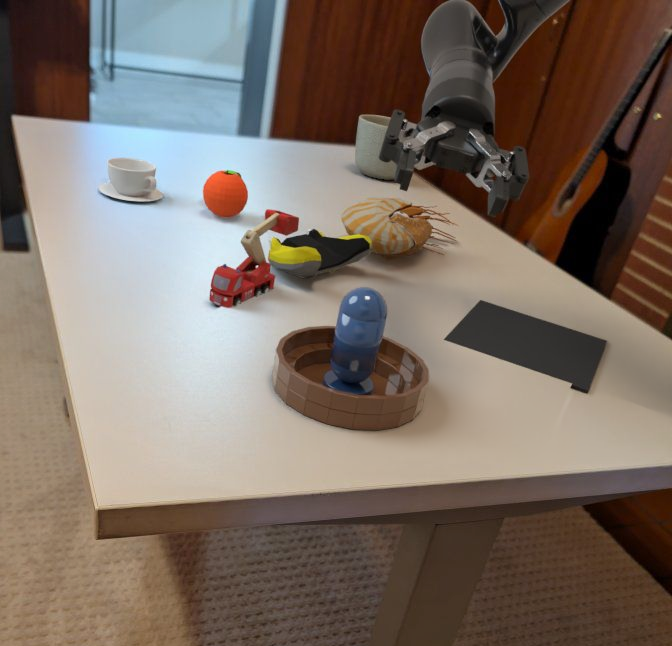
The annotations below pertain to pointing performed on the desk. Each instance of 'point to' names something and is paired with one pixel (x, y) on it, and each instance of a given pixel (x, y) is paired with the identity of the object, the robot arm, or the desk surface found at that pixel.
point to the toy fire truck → (250, 264)
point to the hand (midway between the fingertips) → (451, 195)
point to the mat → (530, 343)
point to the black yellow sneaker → (316, 253)
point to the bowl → (341, 407)
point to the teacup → (131, 180)
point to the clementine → (225, 193)
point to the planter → (373, 147)
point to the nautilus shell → (392, 225)
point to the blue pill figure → (357, 342)
